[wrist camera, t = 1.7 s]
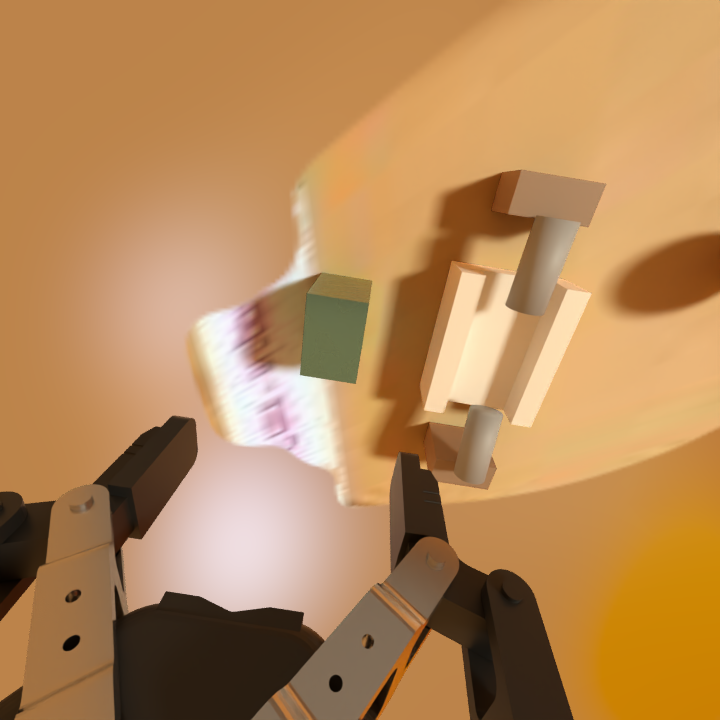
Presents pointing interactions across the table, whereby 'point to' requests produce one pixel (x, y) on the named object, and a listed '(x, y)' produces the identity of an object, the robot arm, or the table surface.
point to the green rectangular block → (334, 327)
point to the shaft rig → (505, 327)
